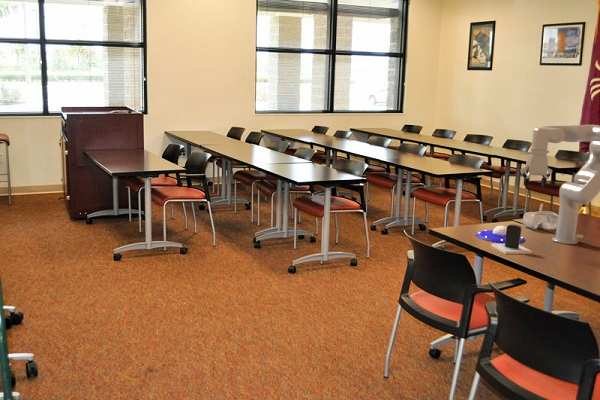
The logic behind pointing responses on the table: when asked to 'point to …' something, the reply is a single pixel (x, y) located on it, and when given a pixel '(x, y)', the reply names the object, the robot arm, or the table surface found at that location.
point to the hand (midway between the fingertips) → (534, 186)
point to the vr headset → (540, 219)
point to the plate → (511, 249)
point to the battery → (513, 236)
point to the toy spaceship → (495, 235)
